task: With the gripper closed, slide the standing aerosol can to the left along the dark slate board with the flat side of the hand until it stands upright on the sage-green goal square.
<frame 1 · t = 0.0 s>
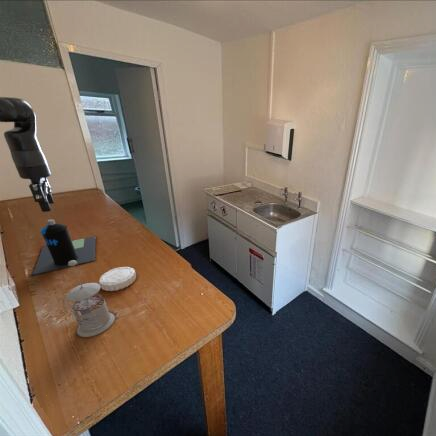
hand: (48, 207, 85), 30 cm above the table, tool pointing down, fingers open, 8 cm apart
mooncake: (119, 281, 95), on the table
french press: (93, 324, 76), on the table
aerosol can: (66, 260, 105), resting on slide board
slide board: (68, 253, 110), on the table
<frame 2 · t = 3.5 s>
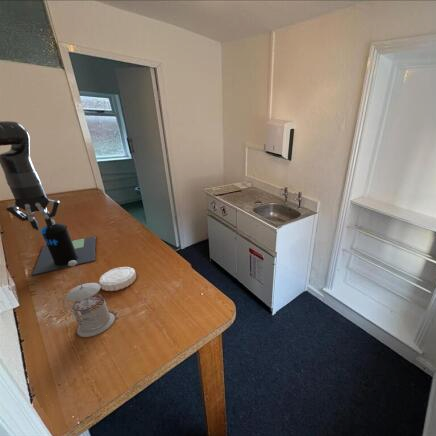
hand: (44, 228, 87), 22 cm above the table, tool pointing down, fingers closed
nothing on the table moved.
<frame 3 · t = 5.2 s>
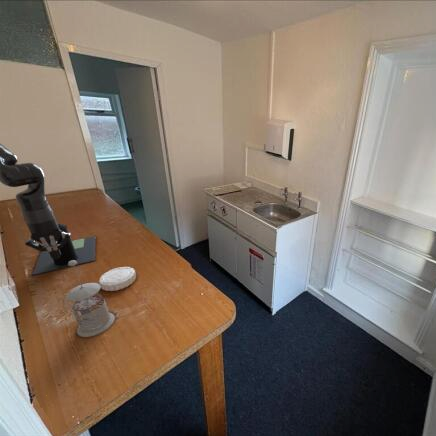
hand: (57, 257, 93), 9 cm above the table, tool pointing down, fingers closed
nothing on the table moved.
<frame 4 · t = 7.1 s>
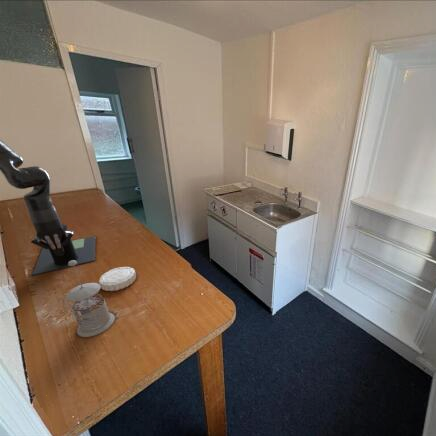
hand: (60, 255, 99), 6 cm above the table, tool pointing down, fingers closed
aerosol can: (66, 260, 105), resting on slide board, touching gripper
everything else where it was.
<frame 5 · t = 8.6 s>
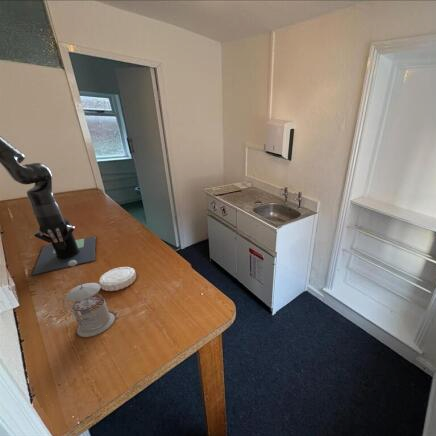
hand: (62, 248, 103), 6 cm above the table, tool pointing down, fingers closed
aerosol can: (68, 254, 109), resting on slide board, touching gripper
everything else where it was.
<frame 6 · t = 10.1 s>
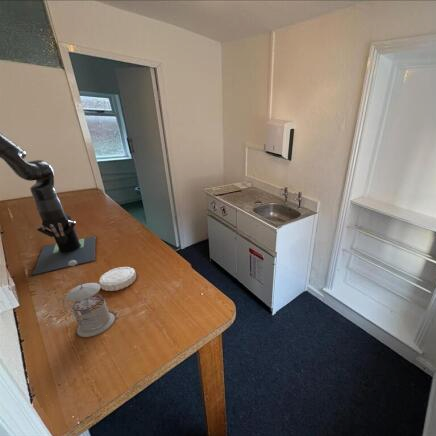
hand: (64, 242, 107), 6 cm above the table, tool pointing down, fingers closed
aerosol can: (70, 248, 113), resting on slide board, touching gripper
everything else where it was.
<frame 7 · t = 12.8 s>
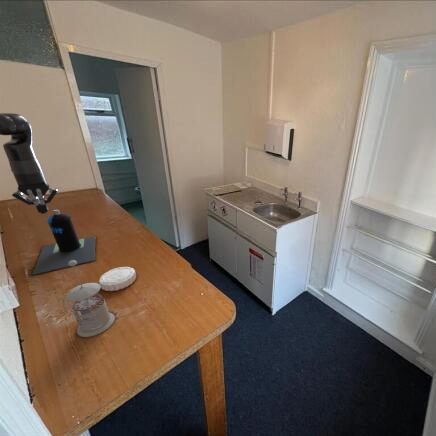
hand: (44, 212, 95), 24 cm above the table, tool pointing down, fingers closed
aerosol can: (70, 248, 113), resting on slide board
everything else where it was.
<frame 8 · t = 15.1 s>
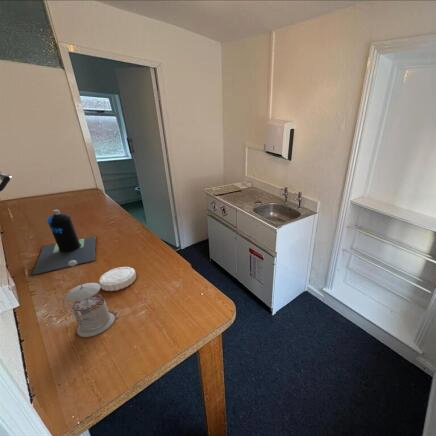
nothing on the table moved.
at the end: aerosol can inside the target area (3.2 cm from its centre), resting on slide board; aerosol can tilted 0°; aerosol can moved 11.9 cm from its start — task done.
